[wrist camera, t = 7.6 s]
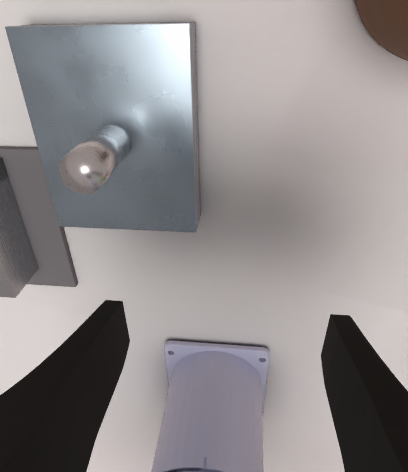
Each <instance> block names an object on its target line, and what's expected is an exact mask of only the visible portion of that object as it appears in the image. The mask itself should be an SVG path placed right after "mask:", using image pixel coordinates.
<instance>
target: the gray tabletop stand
mask: <svg viewBox="0 0 408 472" xmlns="http://www.w3.org/2000/svg"><path fill="white" fill-rule="evenodd" d="M38 269H39V266H38V263H37V260H36V257H35V254H34V251H33V248H32V245H31V242H30V239H29V236H28V233H27V230H26V227H25V224H24V221H23V218H22V215H21V212H20V209H19V206H18V203H17V200H16V197H15V194H14V191H13V188H12V185H11V182H10V179H9V176H8V173H7V170H6V167H5V164H4V161H3V158H2V157H0V297H12V298H16V296H17V295H18V294H19V293H20V291H21V290H22V289H23V288H24V286H25V285H26V284H27V283H28V282H29V280H30V279H31V278H32V277H33V275H34V274H35V273H36V272H37V270H38Z"/></svg>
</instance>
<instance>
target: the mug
mask: <svg viewBox="0 0 408 472" xmlns="http://www.w3.org/2000/svg"><path fill="white" fill-rule="evenodd" d="M356 4H357V7H358V11H359V14H360V17H361V19H362V21H363V23H364V25H365V27H366V29H367V30H368V32H369V33H370V35H371V36H372V37H373V38H374V39H375V40H376V42H377V43H378V44H379V45H381V46H382V47H383V48H385V49H386V50H387V51H389V52H390V53H392V54H394V55H396V56H398V57H400V58H402V59H405V60H408V0H356Z"/></svg>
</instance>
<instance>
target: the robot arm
mask: <svg viewBox="0 0 408 472" xmlns="http://www.w3.org/2000/svg"><path fill="white" fill-rule="evenodd" d="M129 342H130V339H129V334H128V328H127V323H126V318H125V312H124V307H123V302H122V301H111V300H106V301H104V302H103V303H102V304H101V305H100V306H99V307H98V308H97V310H96V311H95V312H94V313H93V314H92V315H91V316H90V317H89V318H88V319H87V320H86V321H85V322H84V323H83V324H82V325H81V326H80V327H79V328H78V329H77V330H76V331H75V332H74V333H73V334H72V335H71V336H70V337H69V338H68V339H67V340H66V341H65V342H64V343H63V344H62V345H61V346H60V347H59V348H57V349H56V350H55V351H54V352H53V353H52V354H51V355H50V356H49V357H47V358H46V359H45V360H44V361H43V362H42V363H41V364H40V365H39V366H37V367H36V368H35V369H34V370H33V371H31V372H30V373H29V374H28V375H26V376H25V377H24V378H23V379H21V380H20V381H19V382H18V383H16V384H15V385H14V386H12V387H11V388H10V389H8V390H7V391H6V392H4V393H3V394H1V395H0V472H86V470H87V467H88V464H89V460H90V457H91V453H92V450H93V446H94V443H95V440H96V437H97V434H98V431H99V428H100V426H101V423H102V421H103V418H104V416H105V413H106V410H107V408H108V405H109V403H110V400H111V398H112V395H113V393H114V390H115V388H116V385H117V382H118V380H119V377H120V375H121V372H122V369H123V366H124V362H125V358H126V355H127V351H128V346H129ZM164 349H165V357H166V366H167V375H168V384H169V391H168V396H167V401H166V405H165V410H164V415H163V419H162V424H161V429H160V433H159V438H158V443H157V448H156V452H155V457H154V462H153V466H152V471H151V472H264V470H263V435H262V414H263V406H264V398H265V389H266V381H267V373H268V364H269V356H270V355H269V350H268V349H267V348H264V347H253V346H239V345H225V344H212V343H198V342H185V341H167V342H166V343H165V347H164ZM321 360H322V368H323V376H324V384H325V388H326V393H327V397H328V401H329V405H330V409H331V413H332V417H333V422H334V426H335V430H336V434H337V438H338V442H339V446H340V450H341V454H342V459H343V464H344V469H345V472H408V391H407V390H406V389H405V388H404V386H403V385H402V384H401V383H400V382H399V380H398V379H397V378H396V377H395V376H394V374H393V373H392V372H391V371H390V369H389V368H388V367H387V366H386V364H385V363H384V362H383V360H382V359H381V358H380V357H379V355H378V354H377V353H376V351H375V350H374V349H373V347H372V346H371V345H370V343H369V342H368V340H367V339H366V338H365V336H364V335H363V333H362V332H361V331H360V329H359V328H358V326H357V325H356V323H355V322H354V321H353V319H352V318H351V317H350V316H348V315H333V314H331V315H330V319H329V323H328V327H327V332H326V336H325V340H324V345H323V349H322V353H321Z"/></svg>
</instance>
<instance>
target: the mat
mask: <svg viewBox="0 0 408 472" xmlns="http://www.w3.org/2000/svg"><path fill="white" fill-rule="evenodd" d="M0 157H2V158H3V161H4V164H5V167H6V170H7V173H8V176H9V179H10V182H11V185H12V188H13V191H14V194H15V197H16V200H17V203H18V206H19V209H20V212H21V215H22V218H23V221H24V224H25V227H26V230H27V233H28V236H29V239H30V242H31V245H32V248H33V251H34V254H35V257H36V260H37V263H38V266H39V269H38V270H37V272H36V273H35V274H34V275H33V277H32V278H31V279H30V280H29V282H28V283H27V284H34V285H51V286H68V287H76V286H77V284H78V282H77V278H76V274H75V270H74V267H73V263H72V259H71V255H70V252H69V248H68V244H67V240H66V237H65V233H64V229H63V227H62V226H59V224H58V220H57V216H56V213H55V209H54V205H53V201H52V198H51V194H50V190H49V187H48V183H47V179H46V176H45V172H44V168H43V165H42V161H41V157H40V154H39V150H38V147H0Z"/></svg>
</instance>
